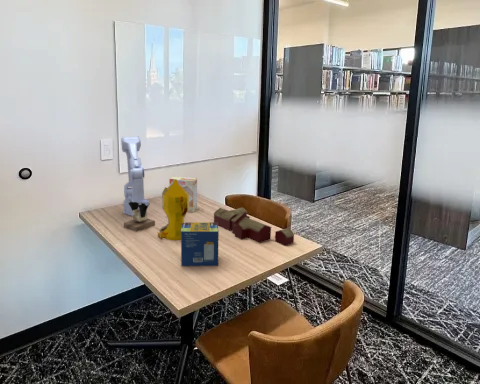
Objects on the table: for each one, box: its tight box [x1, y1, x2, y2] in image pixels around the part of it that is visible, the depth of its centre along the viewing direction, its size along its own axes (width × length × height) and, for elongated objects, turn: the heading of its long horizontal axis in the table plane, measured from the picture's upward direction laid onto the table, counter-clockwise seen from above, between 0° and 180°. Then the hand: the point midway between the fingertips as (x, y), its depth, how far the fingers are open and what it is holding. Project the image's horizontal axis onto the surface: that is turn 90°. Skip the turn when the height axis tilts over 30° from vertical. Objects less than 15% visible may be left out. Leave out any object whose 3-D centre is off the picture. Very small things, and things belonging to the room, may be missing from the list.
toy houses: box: [213, 207, 295, 247], centre depth 186 cm, size 45×20×10 cm, turn 42°
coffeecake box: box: [169, 175, 198, 213], centre depth 218 cm, size 15×7×20 cm, turn 77°
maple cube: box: [132, 209, 148, 222], centre depth 191 cm, size 5×5×5 cm
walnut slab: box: [123, 217, 156, 233], centre depth 192 cm, size 10×12×3 cm
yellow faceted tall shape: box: [157, 179, 189, 242], centre depth 179 cm, size 18×24×28 cm
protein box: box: [180, 221, 220, 267], centre depth 153 cm, size 10×15×16 cm
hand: (139, 216), depth 191 cm, fingers closed on maple cube, 5 cm apart
